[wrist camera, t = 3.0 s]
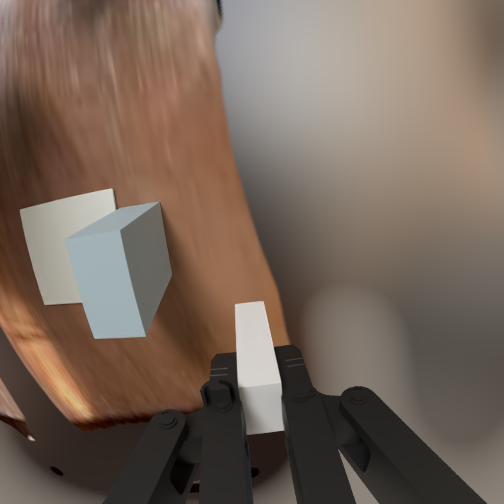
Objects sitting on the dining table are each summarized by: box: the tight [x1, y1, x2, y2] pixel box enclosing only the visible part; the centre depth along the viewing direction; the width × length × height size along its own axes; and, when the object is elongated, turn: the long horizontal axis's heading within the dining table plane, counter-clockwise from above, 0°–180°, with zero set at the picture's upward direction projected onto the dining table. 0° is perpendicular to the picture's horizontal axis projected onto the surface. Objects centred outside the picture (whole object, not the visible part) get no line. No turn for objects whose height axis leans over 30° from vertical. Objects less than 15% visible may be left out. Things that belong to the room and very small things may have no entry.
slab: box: [65, 202, 172, 339], centre depth 29 cm, size 5×9×14 cm, turn 6°
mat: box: [20, 188, 117, 305], centre depth 35 cm, size 15×14×1 cm
